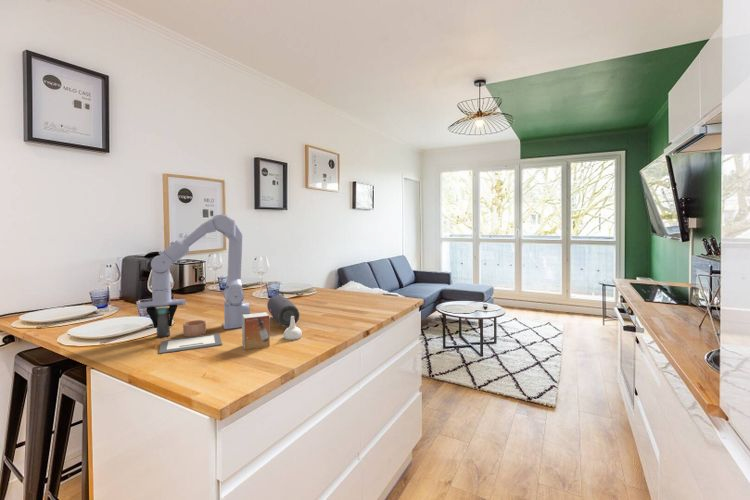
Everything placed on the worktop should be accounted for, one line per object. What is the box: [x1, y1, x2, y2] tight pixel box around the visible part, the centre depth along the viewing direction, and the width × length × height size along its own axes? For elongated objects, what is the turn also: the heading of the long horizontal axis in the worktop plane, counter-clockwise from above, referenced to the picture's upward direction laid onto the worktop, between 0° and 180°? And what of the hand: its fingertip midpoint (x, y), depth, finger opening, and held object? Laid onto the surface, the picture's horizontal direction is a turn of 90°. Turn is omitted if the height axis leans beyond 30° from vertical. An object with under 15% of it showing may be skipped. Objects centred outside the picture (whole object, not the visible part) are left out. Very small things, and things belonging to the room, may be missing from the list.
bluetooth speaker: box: [266, 294, 300, 328], centre depth 142 cm, size 23×9×10 cm, turn 27°
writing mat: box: [158, 332, 223, 355], centre depth 117 cm, size 18×13×1 cm
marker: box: [156, 306, 171, 339], centre depth 125 cm, size 4×4×10 cm
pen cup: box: [182, 319, 207, 337], centre depth 128 cm, size 7×7×4 cm
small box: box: [241, 311, 271, 351], centre depth 115 cm, size 8×6×10 cm
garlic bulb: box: [283, 316, 303, 341], centre depth 123 cm, size 6×6×8 cm
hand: (163, 326), depth 125 cm, fingers closed on marker, 4 cm apart
